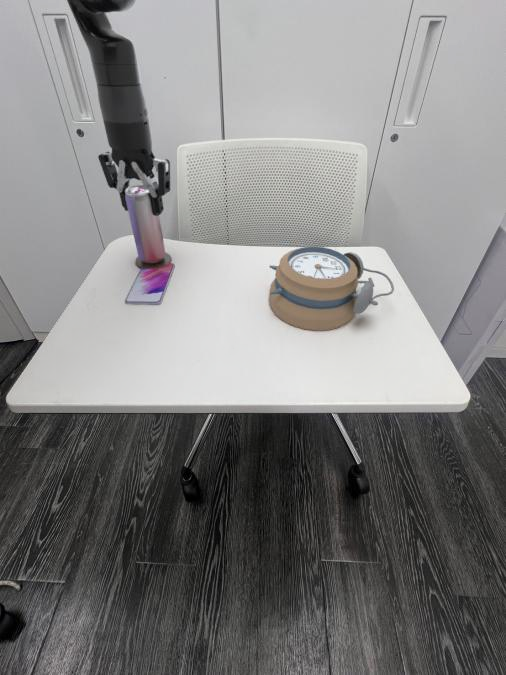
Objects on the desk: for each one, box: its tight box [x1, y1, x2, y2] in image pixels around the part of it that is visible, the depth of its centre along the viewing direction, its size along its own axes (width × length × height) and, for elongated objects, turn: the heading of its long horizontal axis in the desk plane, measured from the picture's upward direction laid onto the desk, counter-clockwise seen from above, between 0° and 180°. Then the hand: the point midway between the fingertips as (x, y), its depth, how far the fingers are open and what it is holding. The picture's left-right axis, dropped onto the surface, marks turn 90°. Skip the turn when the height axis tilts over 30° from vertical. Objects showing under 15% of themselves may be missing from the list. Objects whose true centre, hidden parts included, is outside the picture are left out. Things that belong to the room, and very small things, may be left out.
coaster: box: [134, 251, 172, 270], centre depth 78 cm, size 8×8×1 cm
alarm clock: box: [268, 246, 395, 331], centre depth 65 cm, size 17×9×23 cm
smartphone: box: [124, 262, 176, 306], centre depth 71 cm, size 7×1×15 cm
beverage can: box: [125, 184, 167, 264], centre depth 72 cm, size 6×6×15 cm
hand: (143, 211), depth 70 cm, fingers closed on beverage can, 6 cm apart
